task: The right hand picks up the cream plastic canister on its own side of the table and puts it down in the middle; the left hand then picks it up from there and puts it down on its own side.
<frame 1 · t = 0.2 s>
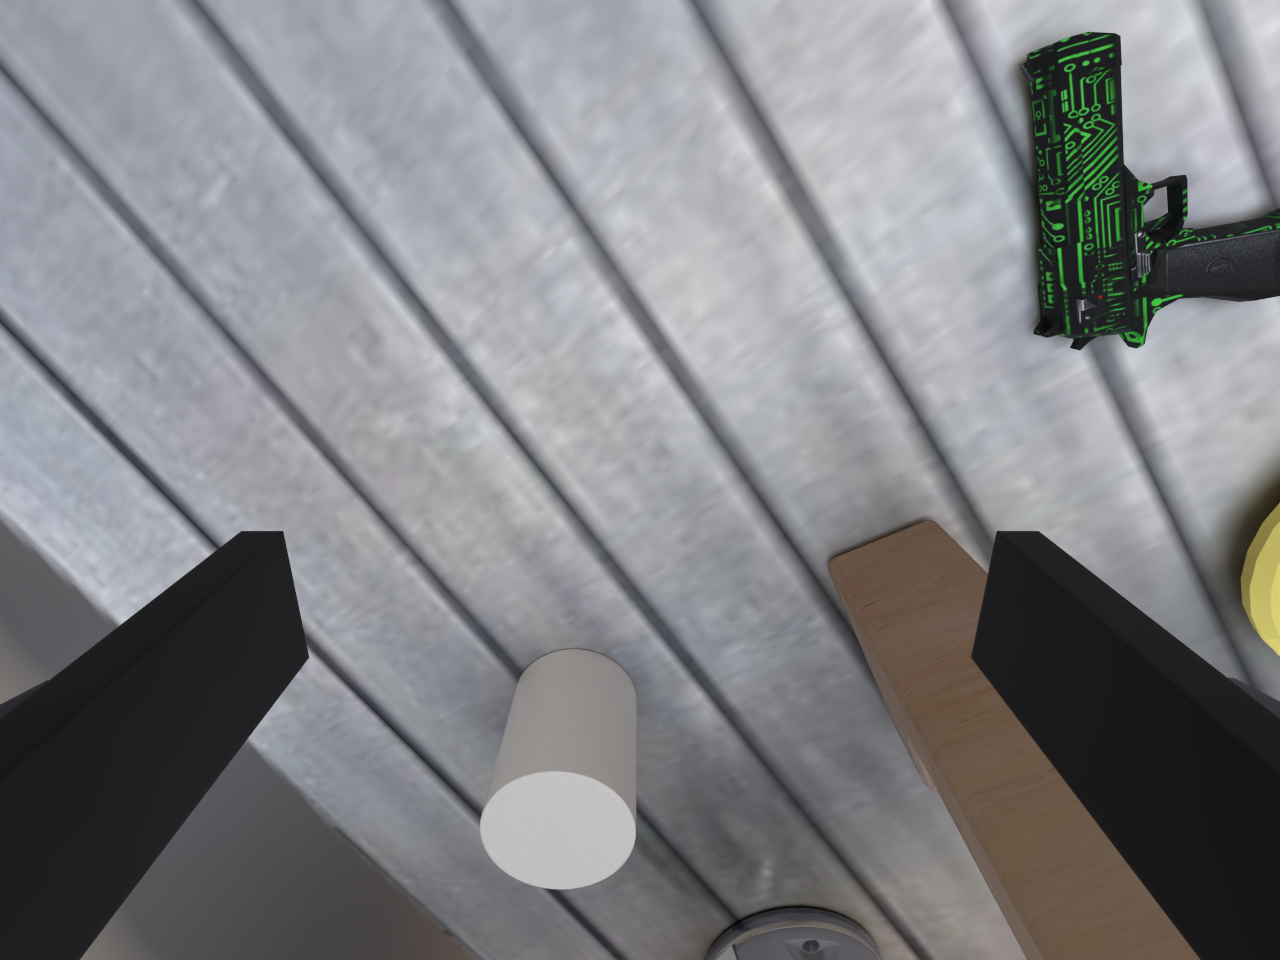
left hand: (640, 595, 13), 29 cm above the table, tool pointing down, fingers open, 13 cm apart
canister: (575, 700, 49), on the table
handgun: (1143, 194, 37), on the table
decorative block: (910, 623, 47), on the table
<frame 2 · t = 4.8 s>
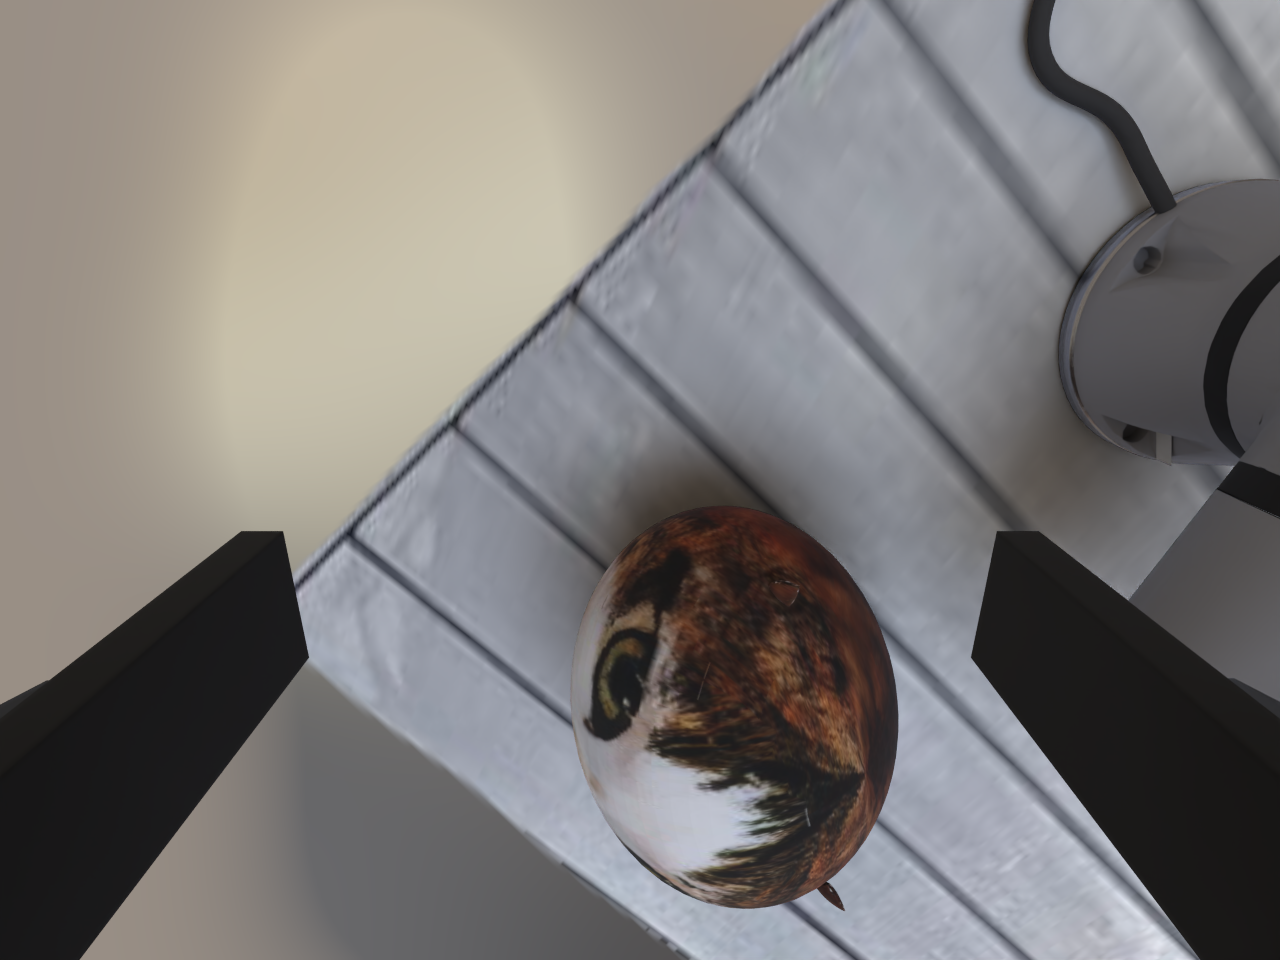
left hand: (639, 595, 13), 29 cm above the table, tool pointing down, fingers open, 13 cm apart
cat face balloon: (717, 615, 46), on the table
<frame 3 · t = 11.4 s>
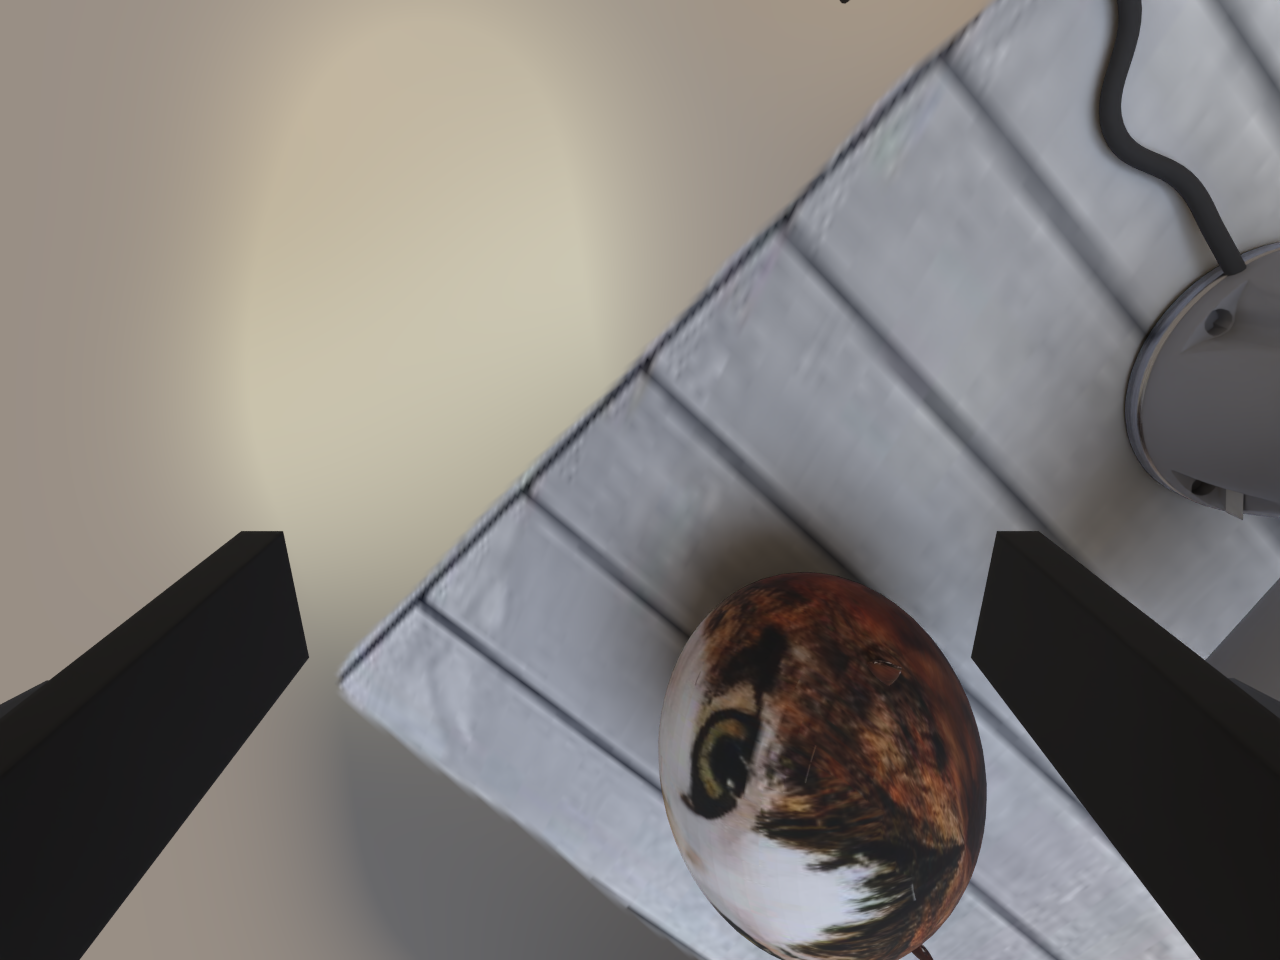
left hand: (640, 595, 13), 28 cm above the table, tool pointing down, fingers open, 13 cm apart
cat face balloon: (784, 666, 46), on the table
when the right hand's fingers open (5 cm above the table, at t = 17.9 s): canister drops 2 cm, on the table.
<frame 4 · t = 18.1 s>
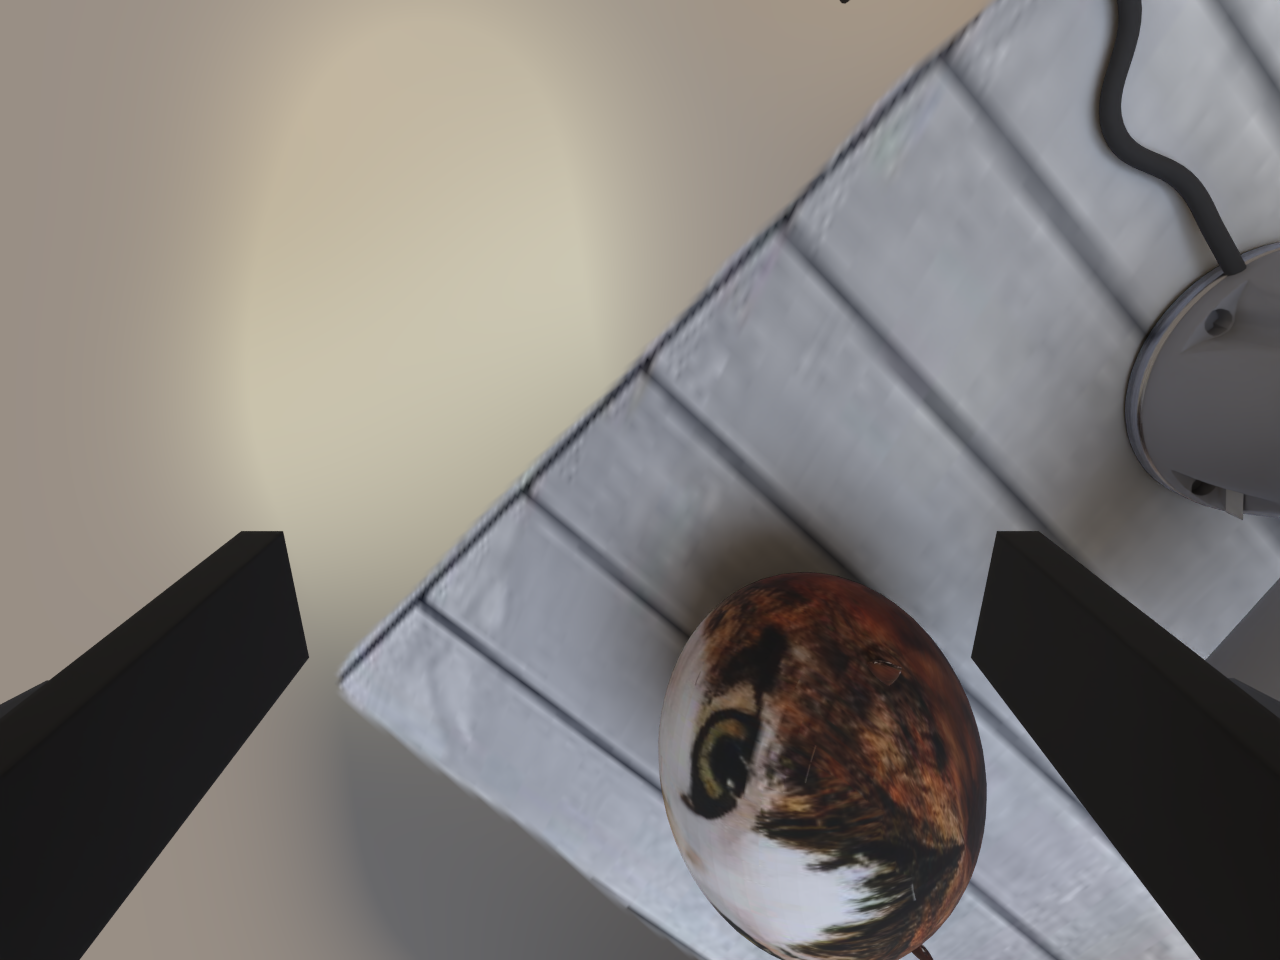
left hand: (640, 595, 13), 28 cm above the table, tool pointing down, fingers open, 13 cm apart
cat face balloon: (784, 666, 46), on the table
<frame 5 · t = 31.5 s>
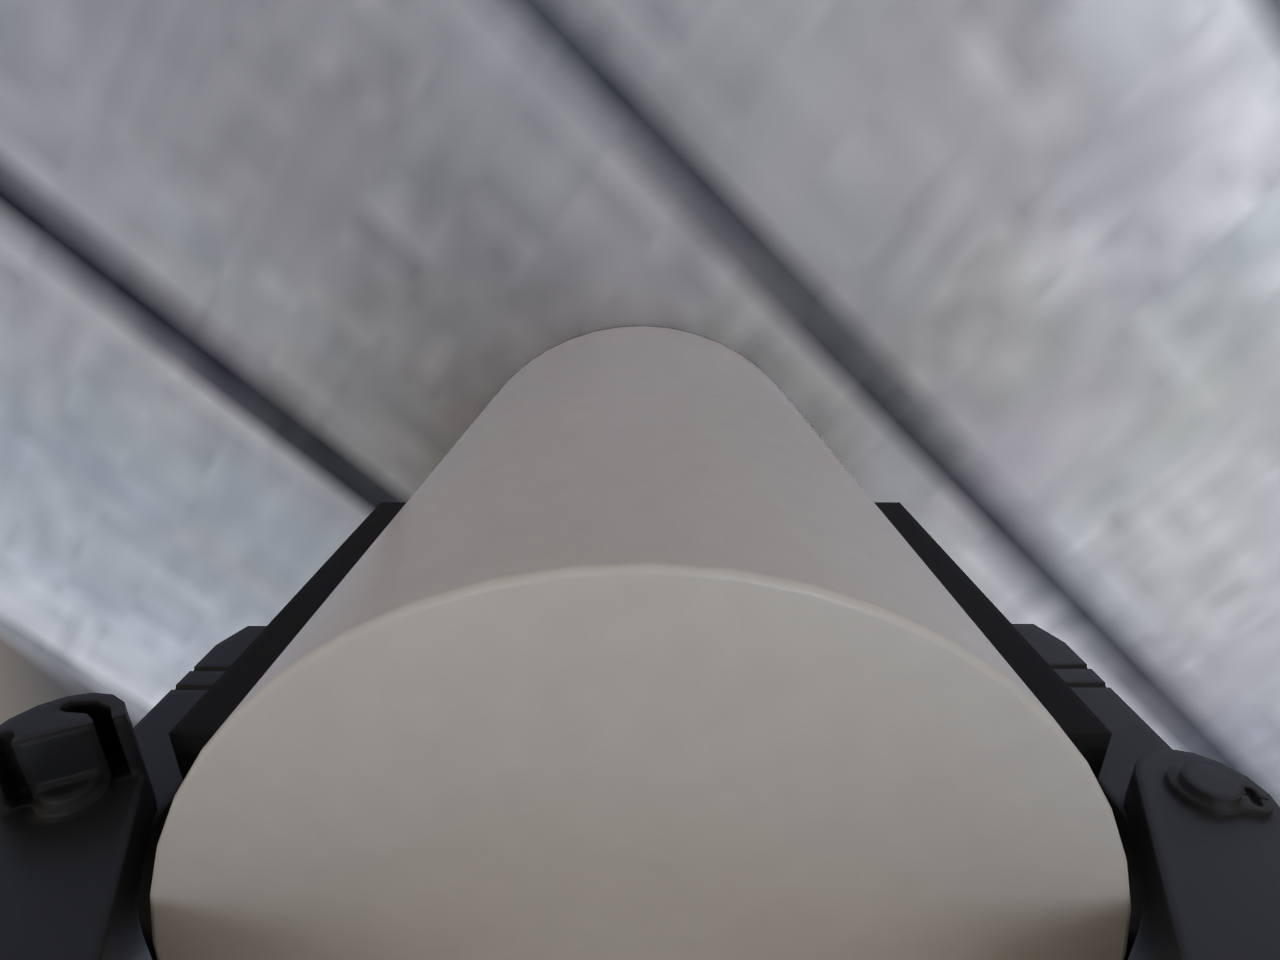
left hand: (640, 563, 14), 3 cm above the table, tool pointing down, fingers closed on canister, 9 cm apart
canister: (640, 504, 17), on the table, touching left hand
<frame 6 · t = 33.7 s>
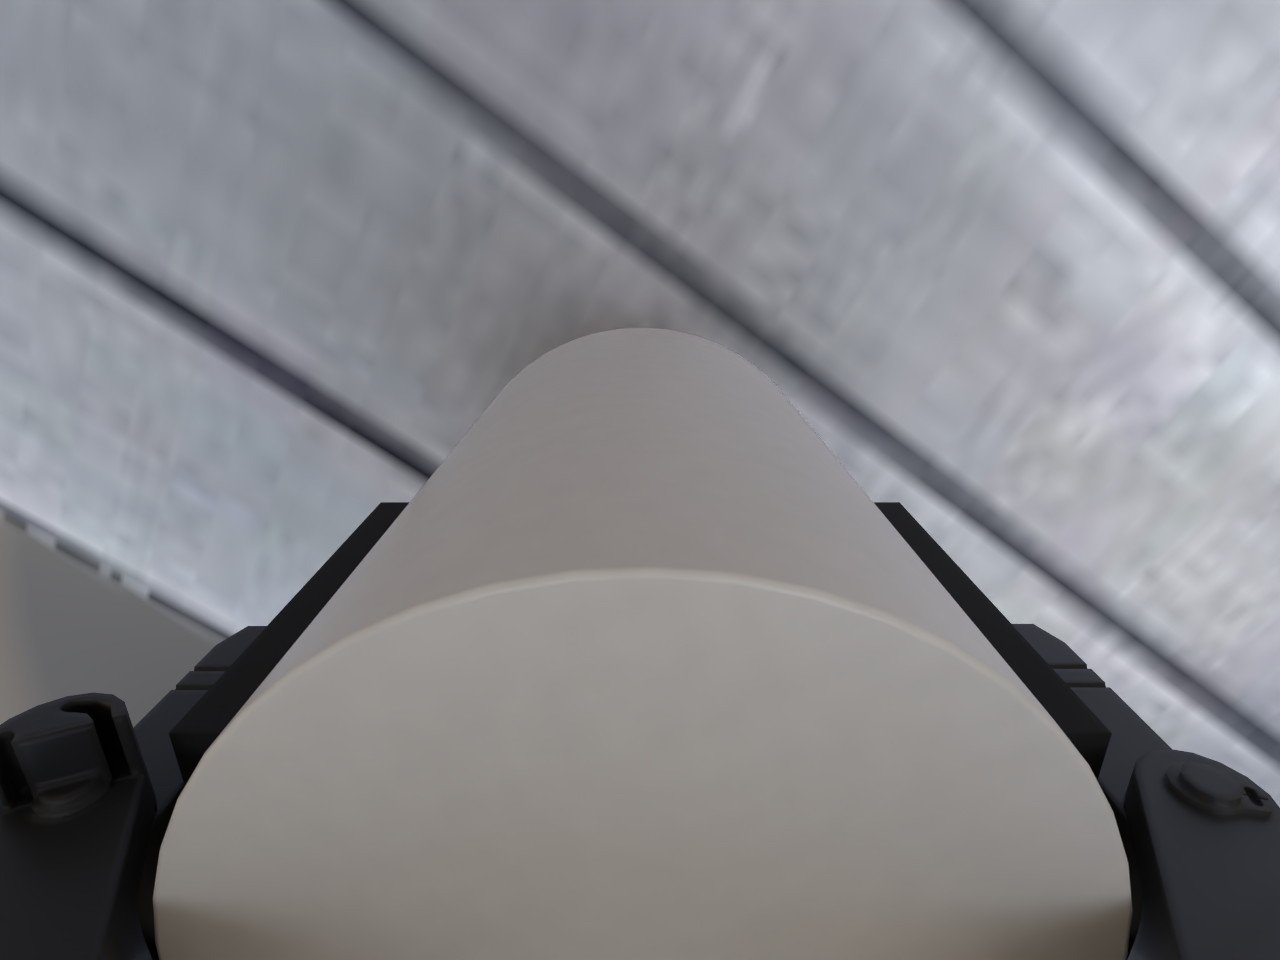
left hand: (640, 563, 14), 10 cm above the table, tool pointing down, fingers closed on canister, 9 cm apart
canister: (640, 505, 17), point 6 cm above the table, touching left hand
when the left hand's fingers open (5 cm above the table, at t = 36.2 s): canister drops 2 cm, on the table.
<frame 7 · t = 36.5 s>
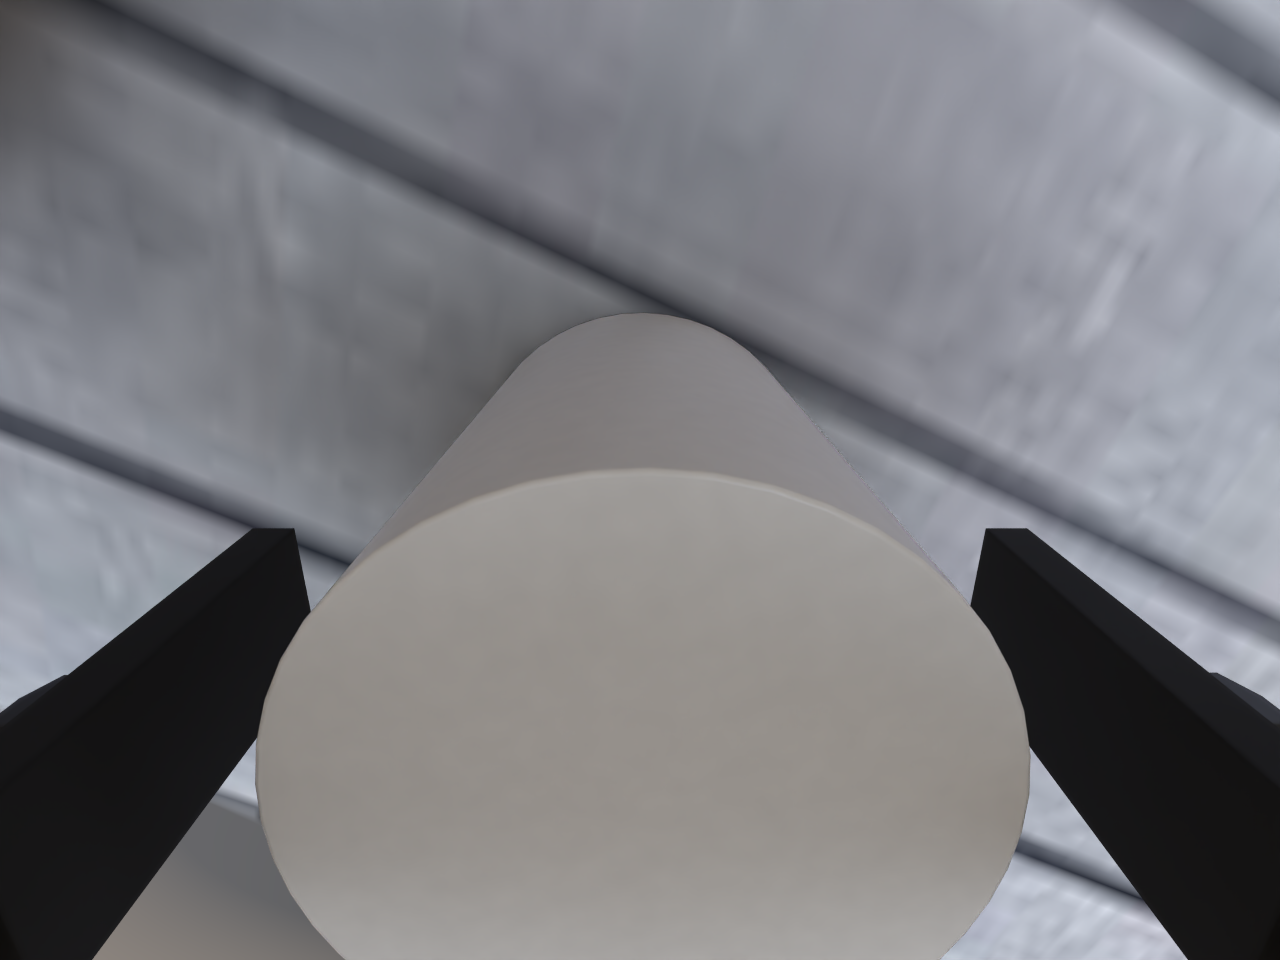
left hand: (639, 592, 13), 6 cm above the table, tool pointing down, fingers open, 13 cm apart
canister: (641, 477, 19), on the table
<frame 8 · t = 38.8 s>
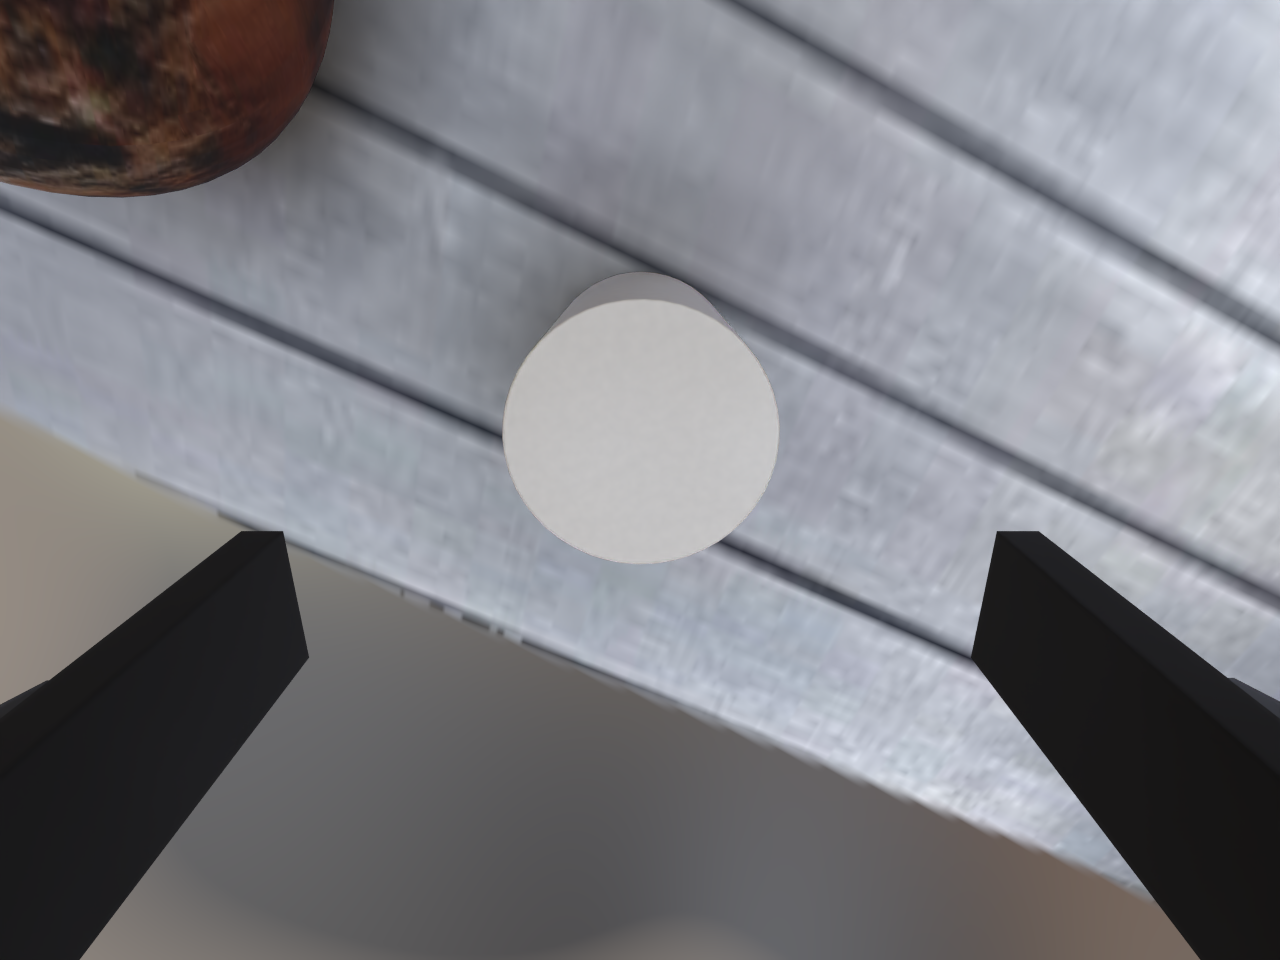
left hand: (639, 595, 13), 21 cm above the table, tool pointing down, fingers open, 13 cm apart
canister: (640, 368, 32), on the table
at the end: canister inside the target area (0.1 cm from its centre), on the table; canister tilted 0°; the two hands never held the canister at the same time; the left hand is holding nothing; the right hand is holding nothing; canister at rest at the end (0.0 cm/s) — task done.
